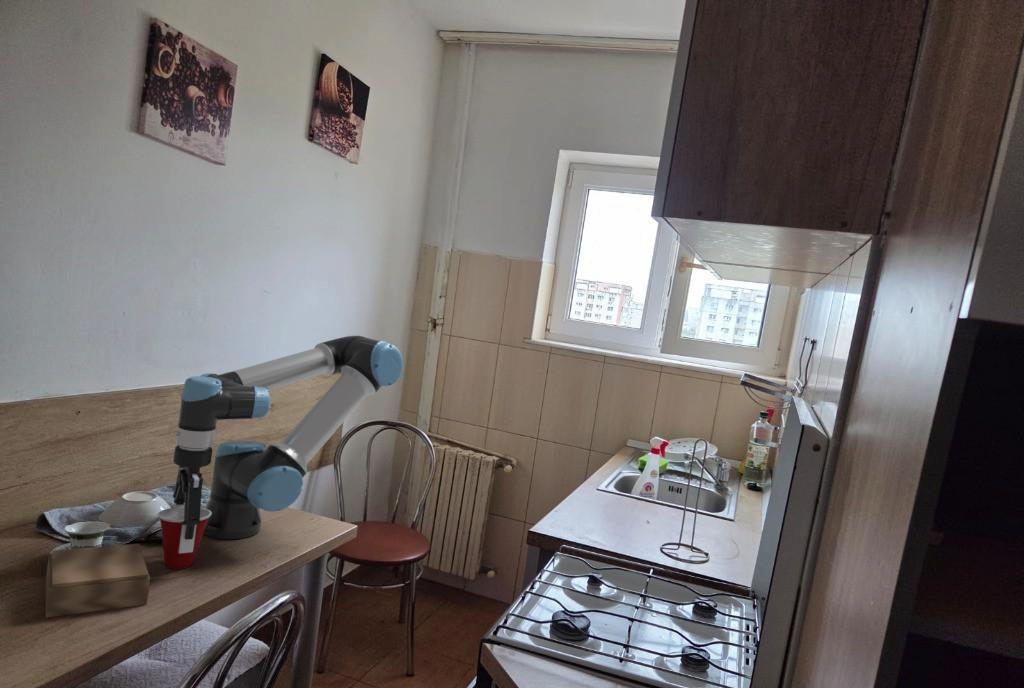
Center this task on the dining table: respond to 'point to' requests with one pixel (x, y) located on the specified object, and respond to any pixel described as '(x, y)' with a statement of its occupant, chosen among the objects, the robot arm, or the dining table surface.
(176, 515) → the plastic cup
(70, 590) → the brown flat block
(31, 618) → the dining table surface
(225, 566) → the dining table surface
